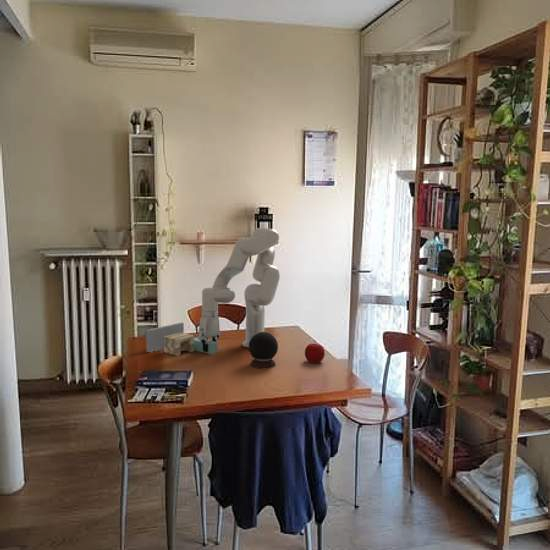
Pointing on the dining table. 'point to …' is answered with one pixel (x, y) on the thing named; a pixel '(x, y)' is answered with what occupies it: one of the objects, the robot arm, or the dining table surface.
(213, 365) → the dining table surface
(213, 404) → the dining table surface
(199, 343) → the peg
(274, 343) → the snow globe
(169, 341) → the block
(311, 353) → the apple
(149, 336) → the wall
